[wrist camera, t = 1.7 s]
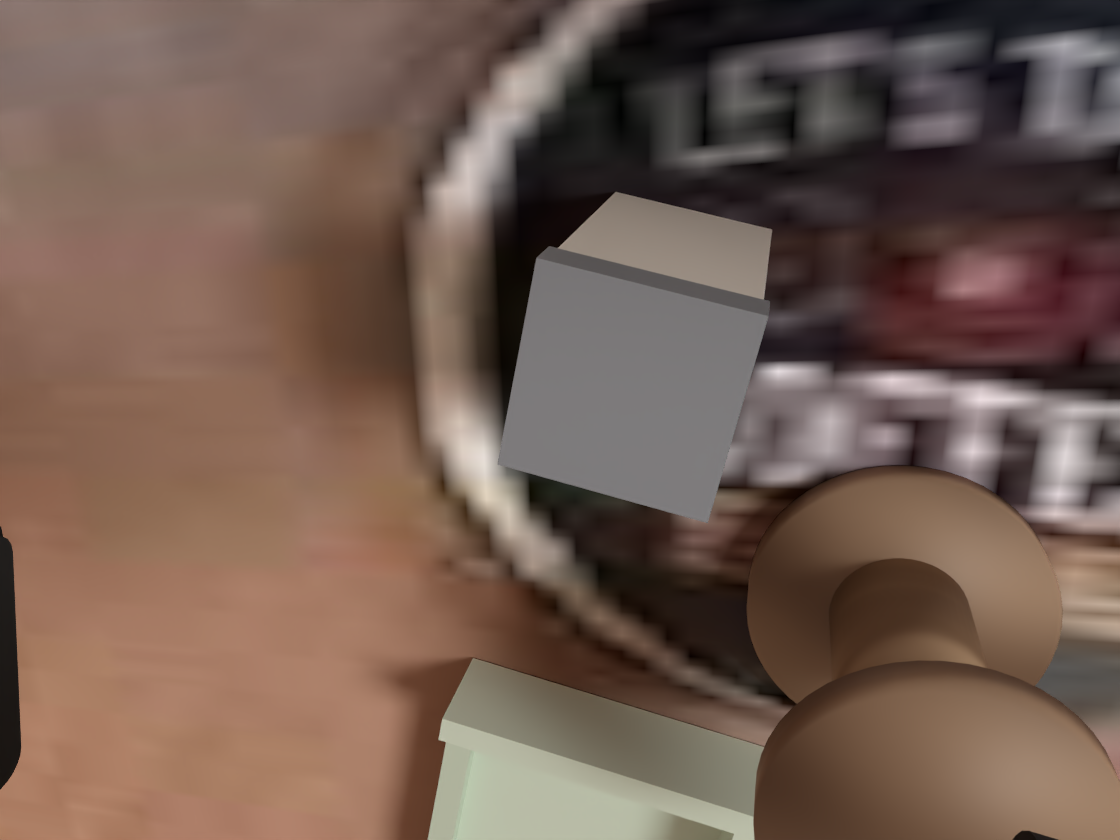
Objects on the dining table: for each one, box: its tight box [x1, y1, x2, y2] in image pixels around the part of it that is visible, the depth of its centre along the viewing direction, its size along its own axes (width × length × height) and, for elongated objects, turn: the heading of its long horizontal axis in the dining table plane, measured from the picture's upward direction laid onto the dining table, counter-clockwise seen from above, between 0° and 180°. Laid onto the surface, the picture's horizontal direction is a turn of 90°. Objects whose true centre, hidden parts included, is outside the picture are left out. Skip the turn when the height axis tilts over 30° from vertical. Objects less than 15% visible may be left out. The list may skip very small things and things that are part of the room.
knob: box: [747, 466, 1120, 840], centre depth 23 cm, size 8×8×9 cm
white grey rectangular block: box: [498, 192, 772, 523], centre depth 22 cm, size 4×4×8 cm
